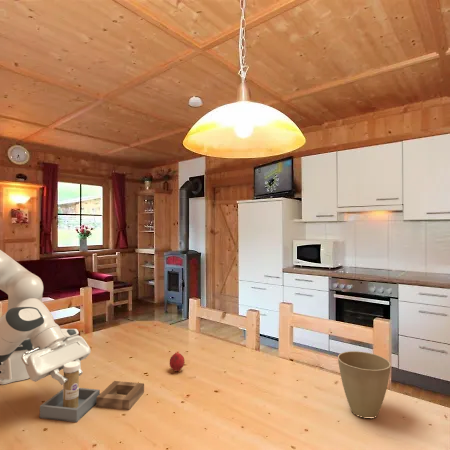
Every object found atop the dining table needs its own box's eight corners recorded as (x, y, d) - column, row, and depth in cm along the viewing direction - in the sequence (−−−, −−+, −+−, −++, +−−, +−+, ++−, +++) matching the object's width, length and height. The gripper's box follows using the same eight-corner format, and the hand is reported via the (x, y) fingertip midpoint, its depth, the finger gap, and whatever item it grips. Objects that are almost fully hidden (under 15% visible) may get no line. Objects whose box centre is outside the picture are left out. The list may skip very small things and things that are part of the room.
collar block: (96, 406, 101) (96, 397, 101) (114, 389, 112) (114, 380, 112) (129, 410, 99) (129, 400, 100) (144, 392, 110) (144, 383, 110)
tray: (39, 418, 95) (39, 406, 95) (66, 397, 107) (66, 386, 107) (76, 422, 93) (76, 410, 93) (99, 400, 105) (99, 389, 105)
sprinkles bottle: (70, 413, 97) (71, 367, 97) (59, 409, 99) (59, 365, 99) (82, 405, 101) (83, 362, 101) (71, 402, 103) (72, 359, 103)
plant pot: (399, 413, 98) (398, 360, 99) (377, 433, 88) (377, 375, 89) (352, 394, 109) (352, 347, 110) (328, 410, 100) (328, 358, 100)
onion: (181, 375, 123) (181, 354, 123) (167, 374, 124) (167, 353, 124) (186, 369, 129) (186, 348, 129) (172, 367, 130) (172, 347, 130)
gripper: (24, 347, 93) (47, 388, 89) (80, 327, 112) (102, 360, 108) (13, 360, 95) (36, 401, 91) (71, 338, 114) (92, 371, 110)
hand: (72, 378), depth 100 cm, fingers closed on sprinkles bottle, 4 cm apart
